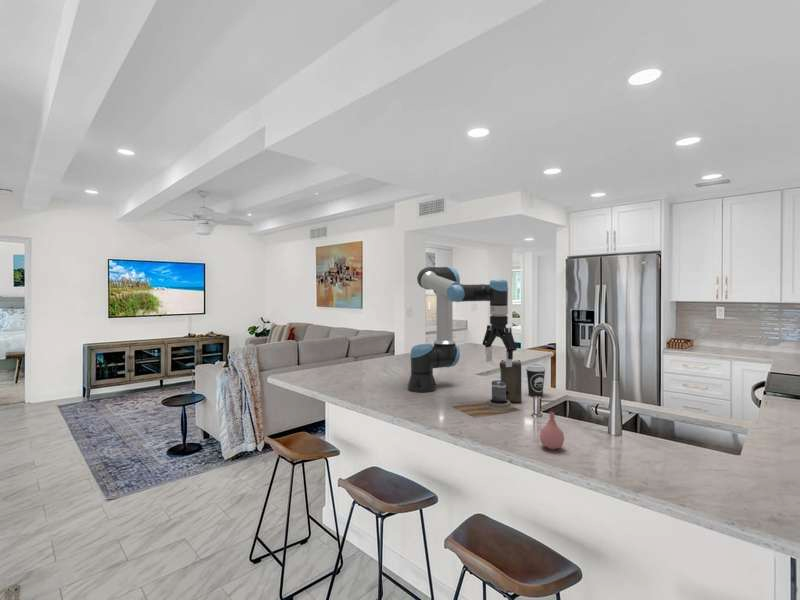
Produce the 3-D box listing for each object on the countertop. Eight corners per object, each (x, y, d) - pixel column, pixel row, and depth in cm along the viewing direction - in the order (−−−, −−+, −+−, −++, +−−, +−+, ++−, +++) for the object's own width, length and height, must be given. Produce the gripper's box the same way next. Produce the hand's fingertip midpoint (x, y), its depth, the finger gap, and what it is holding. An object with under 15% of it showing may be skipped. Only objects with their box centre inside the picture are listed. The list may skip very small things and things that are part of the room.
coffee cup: (547, 394, 208) (548, 364, 208) (543, 399, 200) (543, 368, 200) (528, 392, 213) (528, 363, 213) (523, 396, 205) (523, 366, 205)
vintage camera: (516, 396, 208) (515, 356, 208) (522, 403, 193) (521, 360, 193) (496, 396, 209) (495, 356, 209) (501, 403, 194) (500, 360, 194)
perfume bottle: (541, 442, 145) (541, 408, 144) (565, 446, 142) (565, 410, 141) (538, 450, 138) (538, 414, 137) (563, 454, 135) (563, 417, 134)
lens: (488, 406, 184) (488, 380, 184) (499, 404, 186) (500, 379, 186) (497, 409, 178) (497, 383, 178) (508, 408, 181) (509, 382, 181)
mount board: (451, 409, 184) (451, 400, 184) (495, 403, 194) (495, 393, 194) (475, 421, 168) (475, 411, 167) (522, 413, 178) (522, 403, 178)
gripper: (474, 313, 191) (474, 360, 192) (510, 317, 168) (510, 370, 169) (488, 313, 194) (488, 358, 195) (525, 316, 171) (525, 368, 172)
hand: (498, 364), depth 182 cm, fingers open, 13 cm apart
